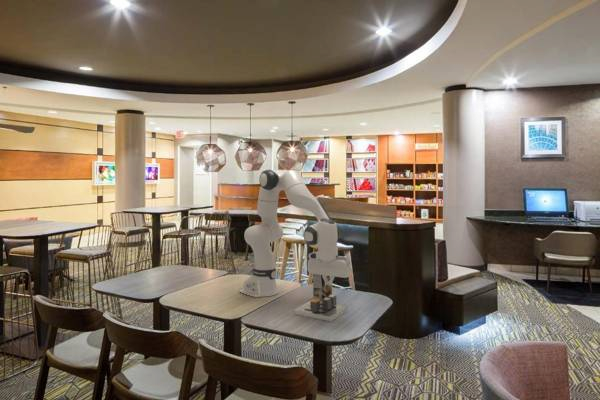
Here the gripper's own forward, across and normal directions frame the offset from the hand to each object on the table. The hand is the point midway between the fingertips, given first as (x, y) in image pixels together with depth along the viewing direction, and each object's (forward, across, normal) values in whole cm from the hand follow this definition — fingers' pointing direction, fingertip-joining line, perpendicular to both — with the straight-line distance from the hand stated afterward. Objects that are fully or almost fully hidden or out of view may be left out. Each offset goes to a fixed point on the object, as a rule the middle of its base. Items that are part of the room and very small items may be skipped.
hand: (328, 285), depth 172 cm
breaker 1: (+13, +4, -5) cm, 14 cm away
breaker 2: (+13, +4, -10) cm, 17 cm away
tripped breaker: (+13, +7, 0) cm, 15 cm away
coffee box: (+15, +15, -22) cm, 31 cm away
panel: (+15, +7, -5) cm, 18 cm away
